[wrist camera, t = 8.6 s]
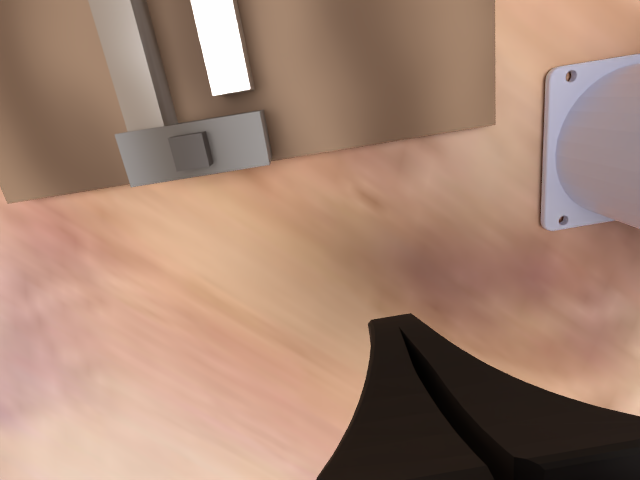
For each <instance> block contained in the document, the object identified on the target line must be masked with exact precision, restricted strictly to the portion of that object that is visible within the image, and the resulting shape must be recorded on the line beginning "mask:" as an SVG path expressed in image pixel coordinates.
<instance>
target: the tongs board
mask: <svg viewBox="0 0 640 480" xmlns="http://www.w3.org/2000/svg"><path fill="white" fill-rule="evenodd" d="M237 3H238V8H239V13H240V18H241V23H242V28H243V33H244V38H245V43H246V48H247V53H248V58H249V63H250V68H251V73H252V78H253V83H254V88H255V90H254V91H248V92H242V93H236V94H230V95H224V96H214V95H213V93H212V89H211V85H210V81H209V76H208V72H207V68H206V63H205V59H204V55H203V51H202V46H201V42H200V38H199V34H198V29H197V25H196V21H195V17H194V12H193V8H192V4H191V0H0V187H1V189H2V192H3V194H4V196H5V199H6V201H7V203H8V204H10V203H16V202H22V201H28V200H34V199H40V198H47V197H53V196H59V195H65V194H71V193H77V192H84V191H90V190H96V189H102V188H108V187H114V186H121V185H127V184H130V186H131V187H136V186H142V185H148V184H154V183H160V182H167V181H173V180H179V179H185V178H191V177H197V176H204V175H210V174H216V173H222V172H228V171H234V170H241V169H247V168H253V167H259V166H265V165H270V162H271V161H275V160H281V159H287V158H293V157H300V156H306V155H312V154H318V153H324V152H330V151H337V150H343V149H349V148H355V147H361V146H367V145H374V144H380V143H386V142H392V141H398V140H404V139H411V138H417V137H423V136H429V135H435V134H441V133H448V132H454V131H460V130H466V129H472V128H478V127H485V126H491V125H495V0H237Z"/></svg>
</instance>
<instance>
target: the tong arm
mask: <svg viewBox="0 0 640 480" xmlns="http://www.w3.org/2000/svg"><path fill="white" fill-rule="evenodd" d="M191 4H192V8H193V12H194V17H195V21H196V25H197V29H198V34H199V38H200V42H201V46H202V51H203V55H204V59H205V63H206V68H207V72H208V76H209V81H210V85H211V89H212V93H213V95H214V96H224V95H230V94H236V93H242V92H248V91H254V90H255V88H254V83H253V78H252V73H251V68H250V63H249V58H248V53H247V48H246V43H245V38H244V33H243V28H242V23H241V18H240V13H239V8H238V3H237V0H191Z"/></svg>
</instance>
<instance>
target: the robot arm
mask: <svg viewBox="0 0 640 480" xmlns="http://www.w3.org/2000/svg"><path fill="white" fill-rule="evenodd" d="M568 72H570V73H571V79H570V80H569V81H567V80H566V74H567V73H568ZM562 216H563V217H564V218H563V221H562V222H560V223H559V222H558V221H559V219H560V217H562ZM610 221H619V222H622V223H624V224H627V225H630V226H632V227H635V228H638V229H640V54H634V55H627V56H621V57H615V58H609V59H603V60H596V61H590V62H584V63H578V64H571V65H565V66H559V67H555V68H552V69H551V70H550V71H549V72H548V74H547V76H546V82H545V111H544V140H543V169H542V198H541V225H542V227H543V228H545V229H547V230H549V231H556V230H562V229H568V228H574V227H580V226H586V225H592V224H598V223H604V222H610ZM368 327H369V334H370V342H371V350H370V360H369V365H368V370H367V375H366V380H365V383H364V387H363V391H362V394H361V397H360V400H359V403H358V405H357V408H356V410H355V413H354V415H353V418H352V420H351V422H350V424H349V426H348V428H347V430H346V432H345V434H344V436H343V438H342V440H341V441H340V443H339V445H338V447H337V449H336V450H335V452H334V454H333V455H332V457H331V458H330V460H329V461H328V462H327V464H326V465H325V467H324V468H323V470H322V471H321V473H320V474H319V475H318V477H317V479H316V480H640V416H635V415H631V414H627V413H623V412H618V411H614V410H610V409H606V408H602V407H598V406H594V405H591V404H587V403H584V402H581V401H577V400H574V399H571V398H567V397H564V396H561V395H558V394H556V393H553V392H550V391H547V390H544V389H542V388H539V387H537V386H534V385H532V384H529V383H526V382H524V381H522V380H519V379H517V378H515V377H512V376H510V375H508V374H506V373H504V372H502V371H500V370H498V369H496V368H494V367H492V366H490V365H488V364H486V363H484V362H482V361H480V360H479V359H477V358H475V357H474V356H472V355H470V354H469V353H467V352H465V351H463V350H462V349H460V348H459V347H457V346H456V345H454V344H453V343H451V342H450V341H448V340H447V339H445V338H444V337H442V336H441V335H439V334H438V333H437V332H435V331H434V330H433V329H431V328H430V327H429V326H427V325H426V324H425V323H423V322H422V321H421V320H419V319H418V318H417V317H415V316H414V315H412V314H411V313H410V314H404V315H398V316H392V317H386V318H380V319H374V320H371V321H370V322H369V323H368Z"/></svg>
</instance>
